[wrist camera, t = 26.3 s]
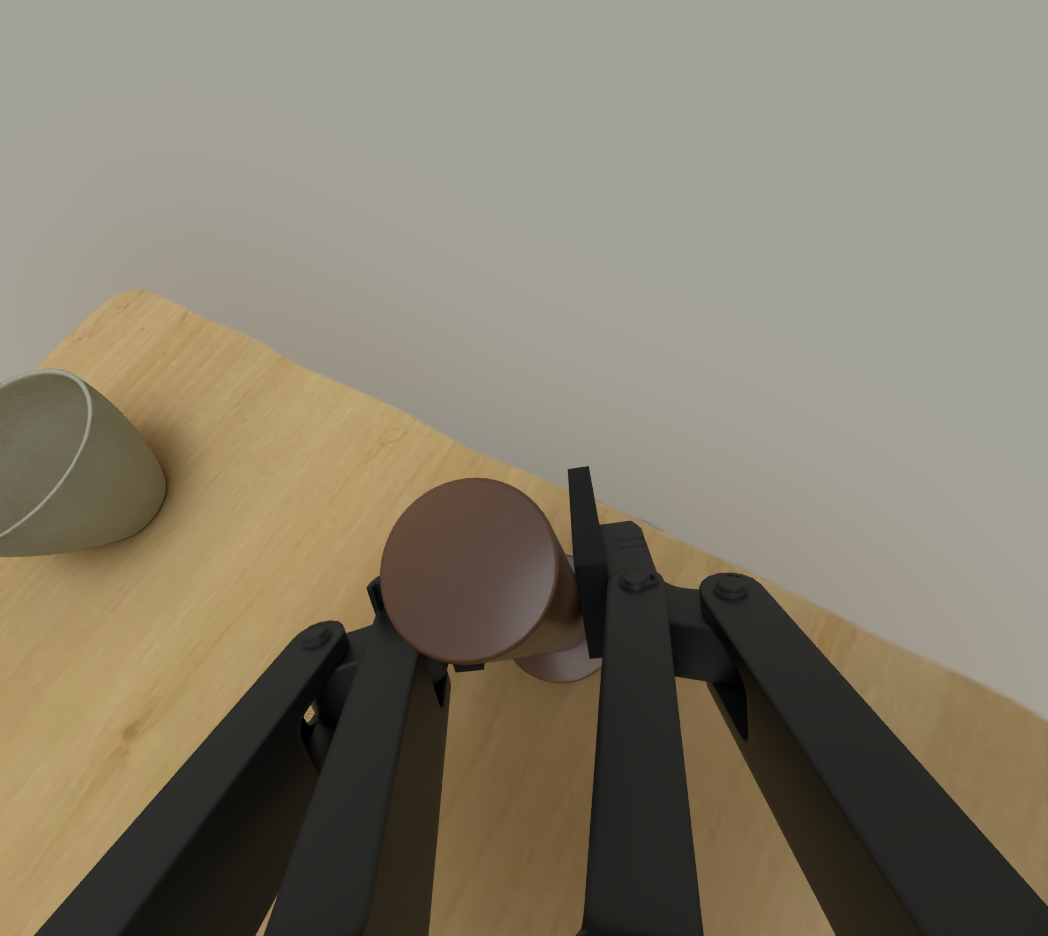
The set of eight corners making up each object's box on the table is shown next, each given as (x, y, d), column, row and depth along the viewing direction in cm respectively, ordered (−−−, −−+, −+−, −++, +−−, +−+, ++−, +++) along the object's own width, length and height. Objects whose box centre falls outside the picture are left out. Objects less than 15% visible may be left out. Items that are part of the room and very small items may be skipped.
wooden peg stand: (643, 600, 21) (712, 510, 7) (579, 708, 20) (506, 862, 6) (545, 537, 23) (438, 360, 9) (481, 633, 22) (241, 613, 8)
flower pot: (88, 441, 33) (-41, 381, 26) (219, 423, 31) (117, 356, 25) (31, 589, 29) (-139, 561, 22) (179, 576, 27) (44, 542, 21)
